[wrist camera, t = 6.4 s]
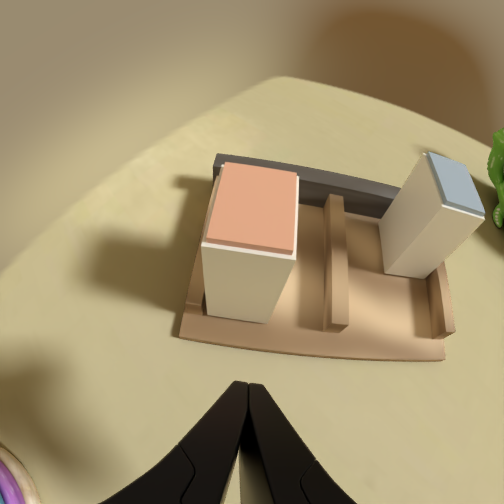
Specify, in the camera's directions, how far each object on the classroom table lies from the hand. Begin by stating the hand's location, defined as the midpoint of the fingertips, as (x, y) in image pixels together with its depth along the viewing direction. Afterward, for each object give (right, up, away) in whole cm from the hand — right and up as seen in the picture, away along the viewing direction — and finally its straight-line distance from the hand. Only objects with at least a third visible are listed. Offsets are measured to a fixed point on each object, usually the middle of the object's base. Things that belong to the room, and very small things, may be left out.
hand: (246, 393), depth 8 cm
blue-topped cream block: (+13, +4, +17) cm, 22 cm away
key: (-1, +1, +14) cm, 14 cm away
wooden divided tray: (+6, +2, +15) cm, 17 cm away
